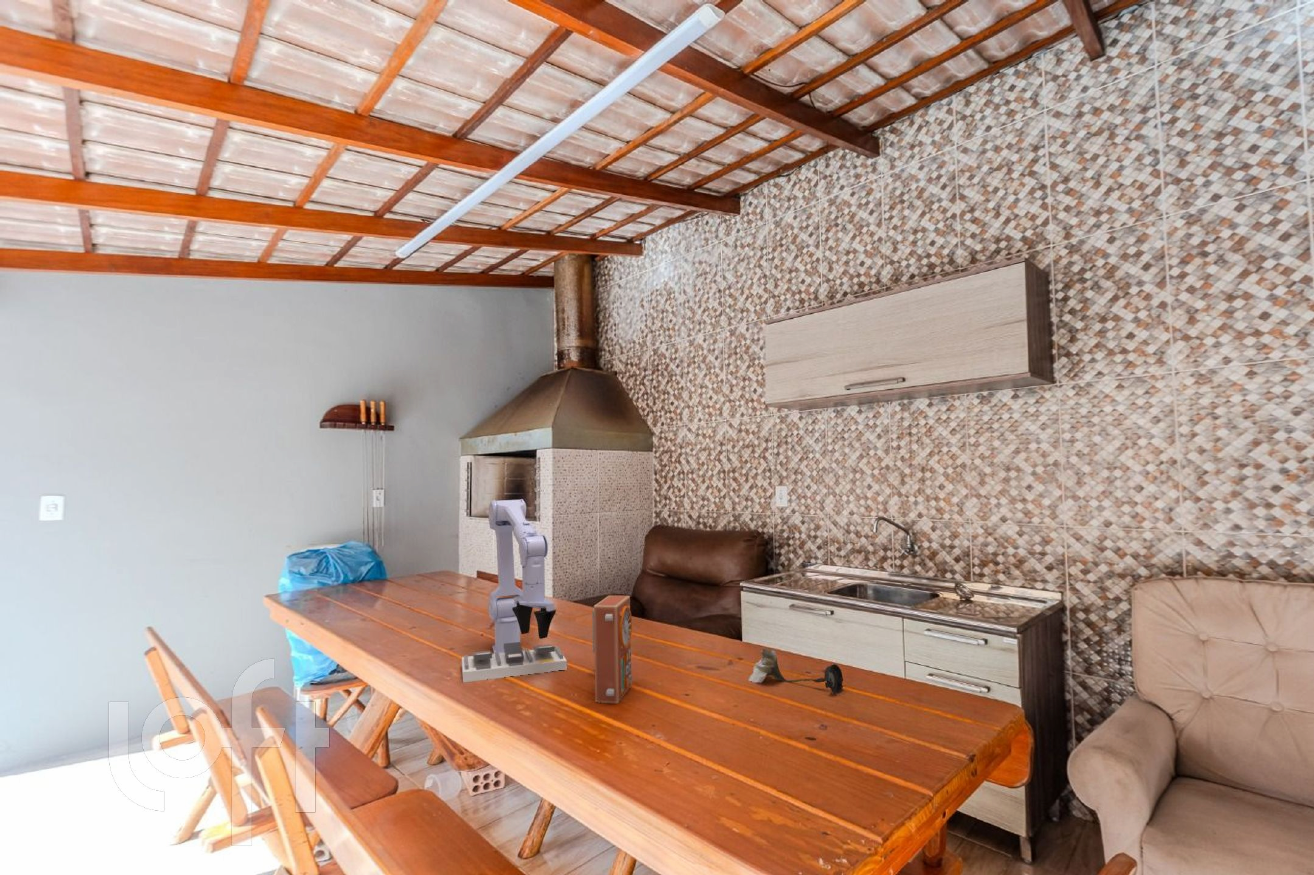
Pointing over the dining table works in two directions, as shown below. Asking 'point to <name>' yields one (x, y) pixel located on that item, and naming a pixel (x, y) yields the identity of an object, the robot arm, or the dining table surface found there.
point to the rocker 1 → (482, 655)
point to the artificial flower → (771, 668)
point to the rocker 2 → (543, 648)
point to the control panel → (612, 648)
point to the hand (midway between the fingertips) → (534, 635)
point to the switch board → (512, 665)
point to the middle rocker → (513, 652)
